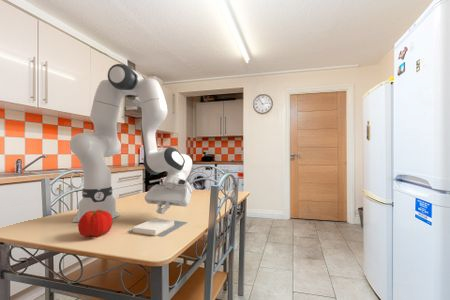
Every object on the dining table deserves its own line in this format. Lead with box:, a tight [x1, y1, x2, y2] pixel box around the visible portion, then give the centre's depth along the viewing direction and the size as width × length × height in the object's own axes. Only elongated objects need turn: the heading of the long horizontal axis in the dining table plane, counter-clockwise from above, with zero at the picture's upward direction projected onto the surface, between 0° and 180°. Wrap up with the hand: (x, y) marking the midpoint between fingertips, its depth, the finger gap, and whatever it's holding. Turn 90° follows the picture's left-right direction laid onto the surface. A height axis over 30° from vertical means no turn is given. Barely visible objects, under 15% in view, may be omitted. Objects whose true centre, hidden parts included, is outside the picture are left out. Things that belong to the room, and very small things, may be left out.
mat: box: [126, 218, 189, 238], centre depth 92 cm, size 18×16×1 cm
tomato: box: [77, 210, 113, 238], centre depth 84 cm, size 11×11×9 cm
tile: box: [132, 218, 175, 237], centre depth 89 cm, size 2×10×12 cm
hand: (159, 212), depth 92 cm, fingers closed
